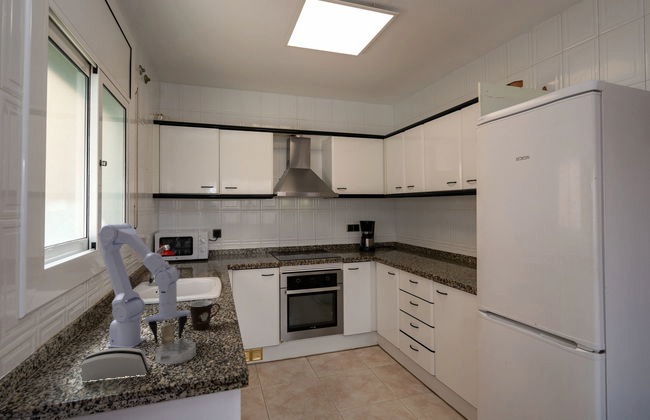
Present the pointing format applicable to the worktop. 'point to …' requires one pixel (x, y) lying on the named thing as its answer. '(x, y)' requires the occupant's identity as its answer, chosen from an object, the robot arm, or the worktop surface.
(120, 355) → the grey arched block
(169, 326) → the tan cylinder
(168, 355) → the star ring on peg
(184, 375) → the worktop surface
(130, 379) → the worktop surface
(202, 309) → the coffee mug
